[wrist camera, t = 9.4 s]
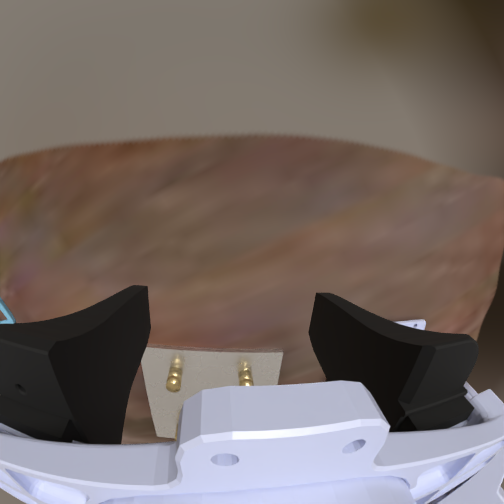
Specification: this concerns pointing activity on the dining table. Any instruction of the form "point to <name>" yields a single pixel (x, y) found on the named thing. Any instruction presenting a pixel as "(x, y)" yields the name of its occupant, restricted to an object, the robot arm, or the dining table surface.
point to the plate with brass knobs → (200, 376)
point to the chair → (6, 314)
